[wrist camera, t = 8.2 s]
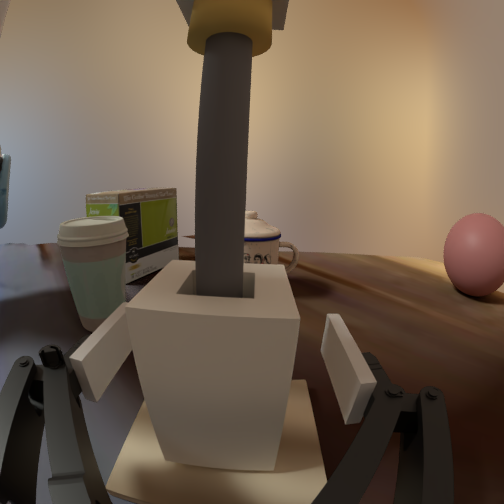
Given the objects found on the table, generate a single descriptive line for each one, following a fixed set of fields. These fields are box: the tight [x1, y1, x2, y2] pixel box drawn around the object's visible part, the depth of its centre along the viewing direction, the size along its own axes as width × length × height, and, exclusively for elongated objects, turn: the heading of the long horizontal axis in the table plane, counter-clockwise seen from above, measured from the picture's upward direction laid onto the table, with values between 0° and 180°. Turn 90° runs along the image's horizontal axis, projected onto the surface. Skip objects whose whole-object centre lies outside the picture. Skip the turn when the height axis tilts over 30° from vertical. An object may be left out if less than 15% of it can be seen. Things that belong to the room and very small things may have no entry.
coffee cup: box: [57, 216, 129, 332], centre depth 27 cm, size 8×9×12 cm
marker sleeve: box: [125, 260, 300, 471], centre depth 13 cm, size 6×6×10 cm
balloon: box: [444, 213, 504, 296], centre depth 37 cm, size 15×20×15 cm
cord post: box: [176, 0, 289, 298], centre depth 11 cm, size 5×5×28 cm
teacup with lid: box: [244, 211, 299, 274], centre depth 40 cm, size 12×9×12 cm
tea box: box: [86, 188, 179, 284], centre depth 46 cm, size 15×10×15 cm
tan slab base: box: [105, 380, 327, 504], centre depth 14 cm, size 12×12×1 cm
